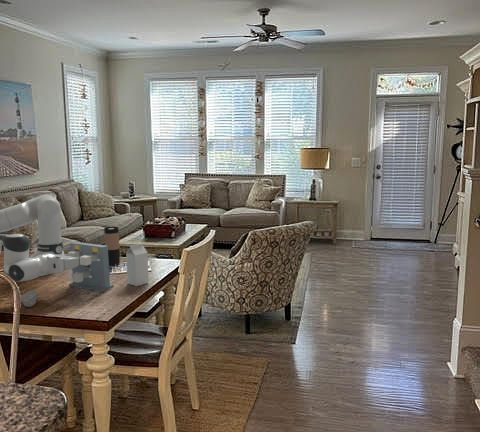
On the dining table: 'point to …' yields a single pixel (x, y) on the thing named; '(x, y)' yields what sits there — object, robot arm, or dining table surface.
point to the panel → (93, 267)
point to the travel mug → (112, 244)
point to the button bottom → (80, 276)
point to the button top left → (75, 253)
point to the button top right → (88, 259)
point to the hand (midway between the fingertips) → (71, 256)
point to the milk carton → (137, 265)
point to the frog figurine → (29, 298)
